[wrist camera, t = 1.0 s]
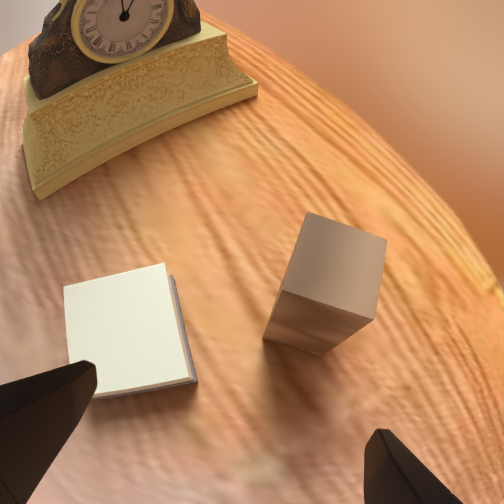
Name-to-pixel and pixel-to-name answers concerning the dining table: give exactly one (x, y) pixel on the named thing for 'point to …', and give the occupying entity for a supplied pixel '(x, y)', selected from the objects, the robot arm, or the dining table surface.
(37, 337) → the dining table surface
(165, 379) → the tower top block
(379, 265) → the walnut pillar
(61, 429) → the robot arm
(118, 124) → the decorative clock
